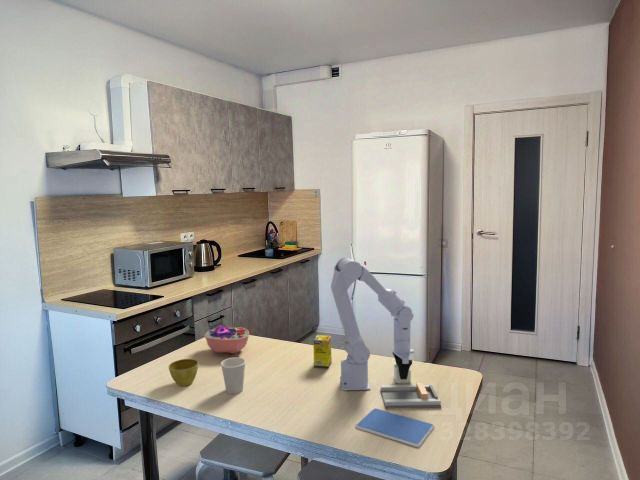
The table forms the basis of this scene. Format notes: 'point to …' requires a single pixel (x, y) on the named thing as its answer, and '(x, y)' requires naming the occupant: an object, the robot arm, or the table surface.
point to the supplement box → (322, 351)
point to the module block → (397, 376)
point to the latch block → (421, 391)
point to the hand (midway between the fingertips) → (402, 375)
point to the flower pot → (183, 371)
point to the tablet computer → (395, 427)
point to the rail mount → (408, 397)
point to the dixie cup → (233, 374)
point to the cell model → (227, 339)
